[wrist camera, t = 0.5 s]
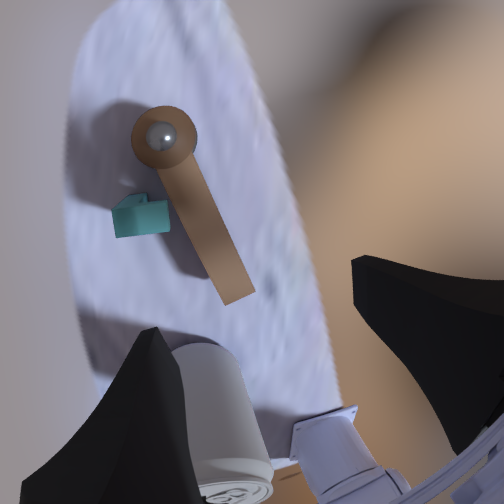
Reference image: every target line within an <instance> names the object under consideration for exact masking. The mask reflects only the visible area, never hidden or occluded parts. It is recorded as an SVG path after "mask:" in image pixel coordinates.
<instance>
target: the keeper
mask: <svg viewBox="0 0 504 504" xmlns="http://www.w3.org/2000/svg"><path fill="white" fill-rule="evenodd" d="M112 217H113V223H114V230H115V235H116V238H121V237H129V236H137V235H145V234H153V233H161V232H170V219H169V210H168V201H167V200H160V201H152V202H148V198H147V193H142V194H134V195H128V196H127V197H126V198H125V199H123V200H122V201H121V202H120V203H119V204H118V205H116V206H115V207H114V208H113V209H112Z"/></svg>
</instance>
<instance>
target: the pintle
mask: <svg viewBox="0 0 504 504" xmlns="http://www.w3.org/2000/svg"><path fill="white" fill-rule="evenodd" d="M194 127H195V126H194ZM195 134H196V137H195V144H194V147H193V149H192V153H193V152H194V150H195V148H196V145H197V131H196V128H195ZM176 140H177V132H176V130H175V128H174V126H173V125H172V124H171V123H169V122H166V121H158V122H156V123H154V124H152V125H151V126H150V127H149V129H148V131H147V133H146V141H147V143H148V145H149V146H150V147H151V148H152V149H154V150H156V151H166V150H168V149H170V148H171V147H173V145H174V144H175V142H176Z"/></svg>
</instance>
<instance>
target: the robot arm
mask: <svg viewBox="0 0 504 504" xmlns="http://www.w3.org/2000/svg"><path fill="white" fill-rule="evenodd" d="M351 264H352V279H353V299H354V306H355V307H356V309H357V310H358V311H359V313H360V314H361V316H362V317H363V319H364V320H365V322H366V323H367V324H368V325H369V326H370V327H371V329H372V330H373V331H374V332H375V333H376V334H377V335H378V336H379V337H380V338H381V340H382V341H383V342H384V343H385V344H386V345H387V346H388V347H389V348H390V349H391V350H392V351H393V352H394V354H395V355H396V356H397V357H398V358H399V359H400V360H401V361H402V362H403V364H404V365H405V366H406V367H407V369H408V370H409V371H410V373H411V374H412V376H413V377H414V379H415V380H416V381H417V383H418V384H419V386H420V387H421V389H422V390H423V392H424V394H425V395H426V397H427V399H428V400H429V402H430V404H431V405H432V407H433V409H434V411H435V413H436V415H437V416H438V418H439V420H440V422H441V424H442V426H443V428H444V431H445V433H446V435H447V437H448V439H449V442H450V444H451V447H452V449H453V451H454V452H455V453H456V455H457V457H456V458H455V459H453V460H452V461H451V462H449V463H448V464H447V465H446V466H444V467H443V468H441V469H440V470H439V471H437V472H436V473H435V474H433V475H432V476H430V477H429V478H428V479H426V480H425V481H423V482H422V483H420V484H419V485H417V486H416V487H414V488H413V489H411V487H410V486H409V484H408V482H407V481H406V479H405V478H404V477H403V475H402V474H401V473H400V472H399V471H398V470H397V469H392V468H387V469H386V470H384V469H383V467H382V466H381V465H380V466H378V464H377V463H376V461H375V460H374V458H373V456H372V455H371V453H370V452H369V450H368V448H367V447H366V445H365V444H364V442H363V440H362V439H361V437H360V436H359V434H358V432H357V431H356V429H355V428H354V426H353V424H352V423H353V420H354V418H355V415H356V412H357V409H358V406H357V405H352V406H350V407H347V408H344V409H341V410H338V411H335V412H332V413H329V414H325V415H322V416H319V417H315V418H312V419H308V420H305V421H301V422H298V423H295V424H294V426H293V434H292V442H291V450H290V457H289V459H290V461H295V460H298V462H299V464H300V467H301V469H302V471H303V474H304V476H305V478H306V481H307V483H308V485H309V488H310V490H311V492H312V493H313V494H314V495H315V496H316V497H317V501H318V504H425V503H427V502H428V501H430V500H431V499H432V498H434V497H435V496H437V495H438V494H439V493H441V492H442V491H444V490H445V489H446V488H448V487H449V486H450V485H451V484H453V483H454V482H455V481H456V480H458V479H459V478H460V477H462V476H463V475H464V474H465V473H466V472H467V471H469V470H470V469H471V468H472V467H473V466H474V465H475V464H477V463H478V462H479V461H480V460H481V459H482V458H483V457H484V456H485V455H486V454H487V453H488V452H489V451H490V452H489V454H488V461H487V463H486V464H485V465H484V466H483V467H482V468H481V469H479V470H478V471H477V472H476V473H475V474H473V475H472V476H471V477H470V478H469V479H468V480H466V481H465V482H464V483H463V484H462V485H461V486H459V487H458V488H457V489H456V490H455V491H453V492H452V493H451V495H450V497H451V498H452V500H453V501H454V504H504V280H480V279H469V278H462V277H455V276H449V275H444V274H439V273H435V272H430V271H426V270H422V269H418V268H414V267H411V266H407V265H404V264H400V263H396V262H393V261H389V260H385V259H382V258H378V257H374V256H368V255H364V256H361V257H358V258H355V259H353V260H351ZM19 504H204V503H203V500H202V497H201V493H200V490H199V487H198V483H197V480H196V476H195V472H194V468H193V464H192V460H191V456H190V450H189V444H188V434H187V422H186V409H185V396H184V388H183V382H182V377H181V372H180V367H179V365H178V363H177V362H176V360H175V358H174V356H173V355H172V353H171V351H170V349H169V348H168V346H167V344H166V342H165V340H164V339H163V337H162V335H161V333H160V331H159V329H158V328H157V327H154V328H151V329H147V330H144V331H141V332H140V334H139V336H138V337H137V339H136V341H135V343H134V344H133V346H132V348H131V350H130V352H129V354H128V355H127V357H126V359H125V361H124V363H123V364H122V366H121V368H120V370H119V372H118V373H117V375H116V377H115V378H114V380H113V382H112V383H111V385H110V387H109V388H108V390H107V391H106V393H105V395H104V396H103V398H102V399H101V401H100V402H99V404H98V405H97V407H96V408H95V410H94V411H93V412H92V414H91V415H90V416H89V418H88V419H87V420H86V422H85V423H84V424H83V425H82V426H81V428H80V429H79V430H78V431H77V432H76V433H75V434H74V436H73V437H72V438H71V439H70V440H69V441H68V443H67V444H66V445H65V446H64V447H63V448H62V449H61V450H60V451H59V452H58V453H57V454H55V455H54V456H53V457H52V458H51V459H50V460H49V461H48V462H47V463H46V464H45V465H43V466H42V467H41V468H39V469H38V470H37V471H35V472H34V473H33V474H32V475H30V476H29V477H28V478H27V479H25V480H23V481H22V486H21V493H20V503H19Z"/></svg>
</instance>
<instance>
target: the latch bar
mask: <svg viewBox="0 0 504 504" xmlns="http://www.w3.org/2000/svg"><path fill="white" fill-rule="evenodd" d="M158 121H166V122H169V123H171V124H172V125H173V126H174V128H175V130H176V132H177V140H176V142H175V144H174V145H173V147H171V148H170V149H168V150H166V151H156V150H154V149H152V148H151V147H150V146H149V145H148V143H147V141H146V133H147V131H148V129H149V127H150V126H151V125H152V124H154V123H156V122H158ZM195 137H196V134H195V127H194V124H193V122H192V120H191V119H190V117H189V116H188V115H187V114H186V113H185V112H184V111H182V110H180V109H178V108H176V107H172V106H159V107H155V108H152V109H150V110H148V111H147V112H145V113H144V114H143V115H142V116H141V117H140V118H139V119H138V120H137V122H136V124H135V126H134V128H133V131H132V136H131V143H132V148H133V151H134V153H135V155H136V156H137V158H138V159H139V160H140V161H141V162H142V163H143V164H145V165H147V166H149V167H151V168H155V169H156V170H157V173H158V175H159V177H160V179H161V181H162V183H163V185H164V187H165V190H166V192H167V194H168V196H169V198H170V200H171V202H172V204H173V206H174V208H175V210H176V212H177V214H178V216H179V218H180V220H181V222H182V224H183V226H184V228H185V230H186V232H187V234H188V236H189V238H190V240H191V242H192V244H193V246H194V248H195V250H196V252H197V254H198V256H199V258H200V260H201V262H202V264H203V265H204V267H205V269H206V271H207V273H208V275H209V277H210V279H211V281H212V282H213V284H214V286H215V288H216V290H217V292H218V294H219V295H220V297H221V299H222V301H223V303H224V305H225V306H226V305H228V304H230V303H232V302H235V301H237V300H239V299H241V298H243V297H245V296H247V295H249V294H252V293H254V292H256V291H255V289H254V287H253V284H252V282H251V280H250V278H249V276H248V274H247V272H246V269H245V267H244V265H243V263H242V261H241V259H240V256H239V254H238V252H237V250H236V248H235V246H234V243H233V241H232V239H231V237H230V235H229V233H228V230H227V228H226V226H225V224H224V222H223V219H222V217H221V215H220V213H219V211H218V208H217V206H216V204H215V202H214V200H213V197H212V195H211V193H210V191H209V189H208V186H207V184H206V182H205V180H204V177H203V175H202V173H201V171H200V169H199V166H198V164H197V162H196V160H195V157H194V155H193V153H192V149H193V147H194V144H195Z"/></svg>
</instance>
